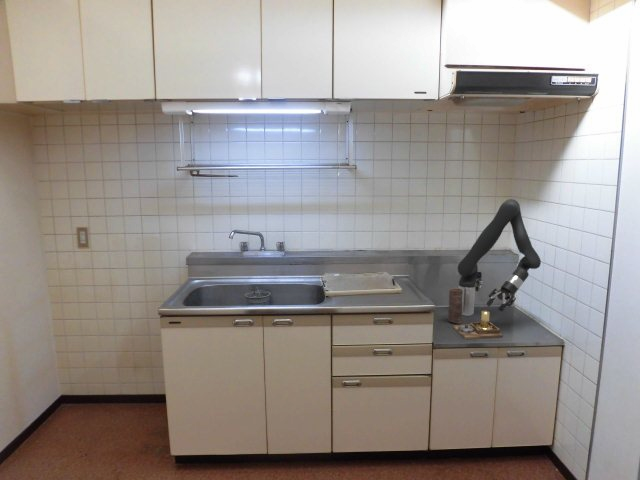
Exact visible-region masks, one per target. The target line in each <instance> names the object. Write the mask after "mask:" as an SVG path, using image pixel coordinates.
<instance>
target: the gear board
mask: <svg viewBox="0 0 640 480" xmlns="http://www.w3.org/2000/svg"><path fill="white" fill-rule="evenodd" d="M480 324H481V321H476V322H475V321H474V322H469V323H465V324H453V325H452V328H453V329H455V331H456V332H457V333H458V334H459V335H460V336H461V337H462V338H463V339H465V340H476V339H478V340H480V339H496V338H497V339H498V338H501V339H502V338H504V337H503V334H502V333H501V331H500V330H501V329H500V328H499V327H497V326H496V325H495V324H494V323H492V322H490V321H489V326H492V328H493V330H479V329H478V328H477V327H476V326H477V325H480Z"/></svg>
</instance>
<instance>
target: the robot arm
mask: <svg viewBox="0 0 640 480" xmlns="http://www.w3.org/2000/svg"><path fill="white" fill-rule="evenodd" d="M508 224H510V225H511V228H512V229H511V230H512V235H513V239H514V242H515V244H516V245H515V246H516V247H517V250H518V252H519V253H520V254H522V255H523V257H522V258H520V259H519V262H518V264H517V266H516V269H515V270H514V271H513V272H512V274H510V275H509V276H508V277H507V279H506V280H505V281H504V282H503V284H502V285H501V286H500V289H499V290H498V289H497V288H494V289H493V290H492V291H491V292H490V294H488V297H489V300H488V301H487V302H486V305H487V306H488V307H490V306H491V305H492V304H493V303H494V302H495V301H498V300H500V301H502V304H501V305H500V306H499V307H498V308H497V309H498V311H499V312H503V311H504V310H505V308H506V307H509V308H510V307H511V306H512V305H513V304H514V302H515V301H516V299H517V297H515V294H516V293H517V291H519V289H520V288H521V287H522V285H523V284H524V282H525V281H527V278H528V277H529V276H530V275H529V272H528V271H529V269H530V270H532V269H533V270H536V269H539V268H540V267H541V262H542V261H541V258H540V256H539V254H538V252H537V251H536V250H535V249H534V247H533V245H532V241H531V239H530V237H529V235H528V232H527V230H526V227H525V224H524V220H523V217H522V211H521V206H520V203H519V202H518V200H516V199H514V198H513V199H512V198H509V199H506V200H504V202H502V203H501V205H500V207H499V208H498V209H497V212H496V214H495V215H494V218H492V220H491V222H490V223H488V225H487V226H486V227H485V228H484V229H483V231H482V232H481V233H480V234H479V235H478V237H477V239H476V241H475V242H474V243H473V245H472V246H471V248H470V250H469V251H468V253H467V254H466V255H465V256H464V257H463V258H462V259H461V260H460V262H459V263H458V265H457V272H458V274H459V275H460V278H459V281H458V288H460V289H463V297H462V316H469V317H470V316H473V315H474V312H475V297H476V296H475V294H476V283H477V282H478V281H477V279H478V270H479V269H478V268H479V266H478V262H479V261H480V260H481V259H482V258H483V257H484V256H485V255H487V253H488V252H489V251H491V249H492V248H493V247H494V246H495V244H496V243H497V242H498V240H499V239H500V238H501V235H502V233H503V231H504V229H505V228H506V226H507V225H508Z"/></svg>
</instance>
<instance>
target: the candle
mask: <svg viewBox="0 0 640 480" xmlns="http://www.w3.org/2000/svg"><path fill="white" fill-rule="evenodd" d="M448 291H449V295H448V297H449V298H448V318H447V319H448V321H449V322H450V323H454V324H459V325H462V323H463V315H462V297H463V289H460V288H459V287H453V288H452V287H451V288H448Z"/></svg>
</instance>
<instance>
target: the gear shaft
mask: <svg viewBox="0 0 640 480" xmlns="http://www.w3.org/2000/svg"><path fill="white" fill-rule="evenodd" d="M480 313H481V314H480V315H481V316H480V322H481V324H480V325H477V326H476V327H477V328H478V329H479V330H493V328H492V326H489V322H490V311H488V310H481V312H480Z"/></svg>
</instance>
